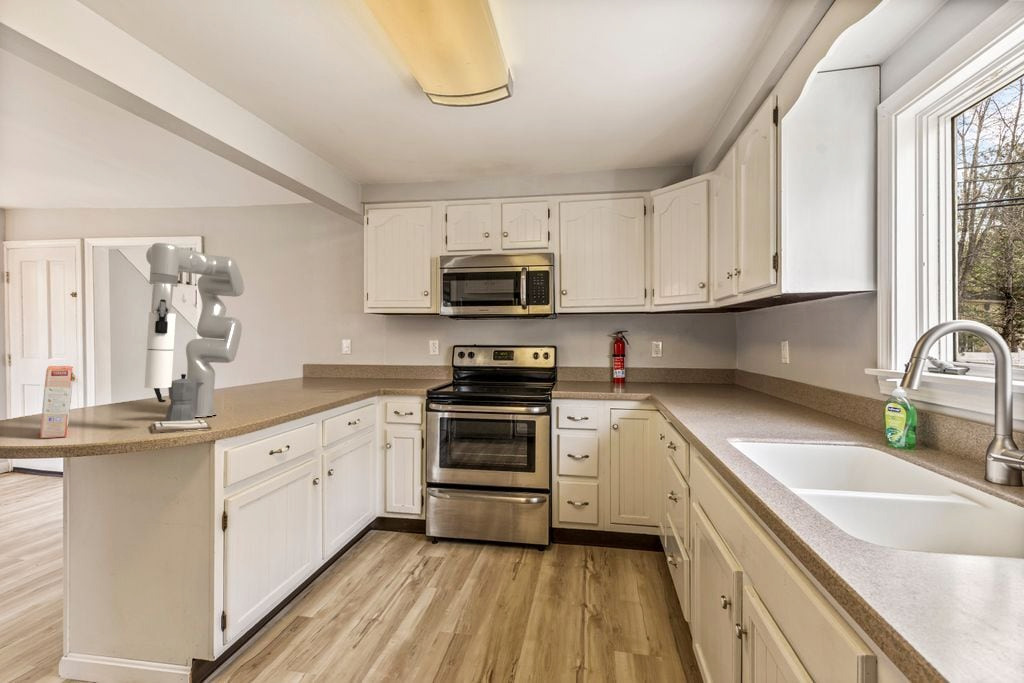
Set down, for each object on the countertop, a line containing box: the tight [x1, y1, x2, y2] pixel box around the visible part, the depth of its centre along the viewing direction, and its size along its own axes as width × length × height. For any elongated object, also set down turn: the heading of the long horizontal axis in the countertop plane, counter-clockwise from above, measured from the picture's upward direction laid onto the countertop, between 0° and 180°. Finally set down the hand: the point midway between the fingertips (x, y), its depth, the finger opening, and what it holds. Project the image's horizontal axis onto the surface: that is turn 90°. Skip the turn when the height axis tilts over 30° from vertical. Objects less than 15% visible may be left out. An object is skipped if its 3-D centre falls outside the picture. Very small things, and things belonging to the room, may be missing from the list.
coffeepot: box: [153, 373, 204, 421], centre depth 169 cm, size 15×9×18 cm, turn 129°
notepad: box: [150, 419, 212, 434], centre depth 157 cm, size 14×16×2 cm
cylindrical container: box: [144, 311, 177, 389], centre depth 151 cm, size 7×7×25 cm
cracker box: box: [39, 365, 74, 439], centre depth 138 cm, size 14×6×21 cm, turn 44°
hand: (160, 332), depth 151 cm, fingers closed on cylindrical container, 7 cm apart
